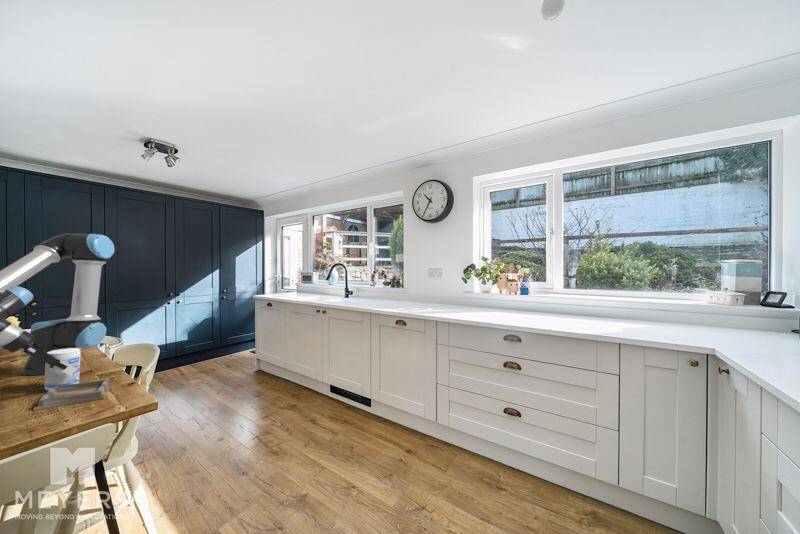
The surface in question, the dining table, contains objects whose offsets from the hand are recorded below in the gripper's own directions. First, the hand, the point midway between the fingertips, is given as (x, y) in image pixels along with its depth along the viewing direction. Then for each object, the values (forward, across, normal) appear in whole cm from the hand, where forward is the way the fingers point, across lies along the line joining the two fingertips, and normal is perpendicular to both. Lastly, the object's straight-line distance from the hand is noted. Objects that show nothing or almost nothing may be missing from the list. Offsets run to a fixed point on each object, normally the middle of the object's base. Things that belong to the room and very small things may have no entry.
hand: (70, 368), depth 123 cm
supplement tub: (+4, 0, -6) cm, 7 cm away
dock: (+4, +17, -5) cm, 18 cm away
